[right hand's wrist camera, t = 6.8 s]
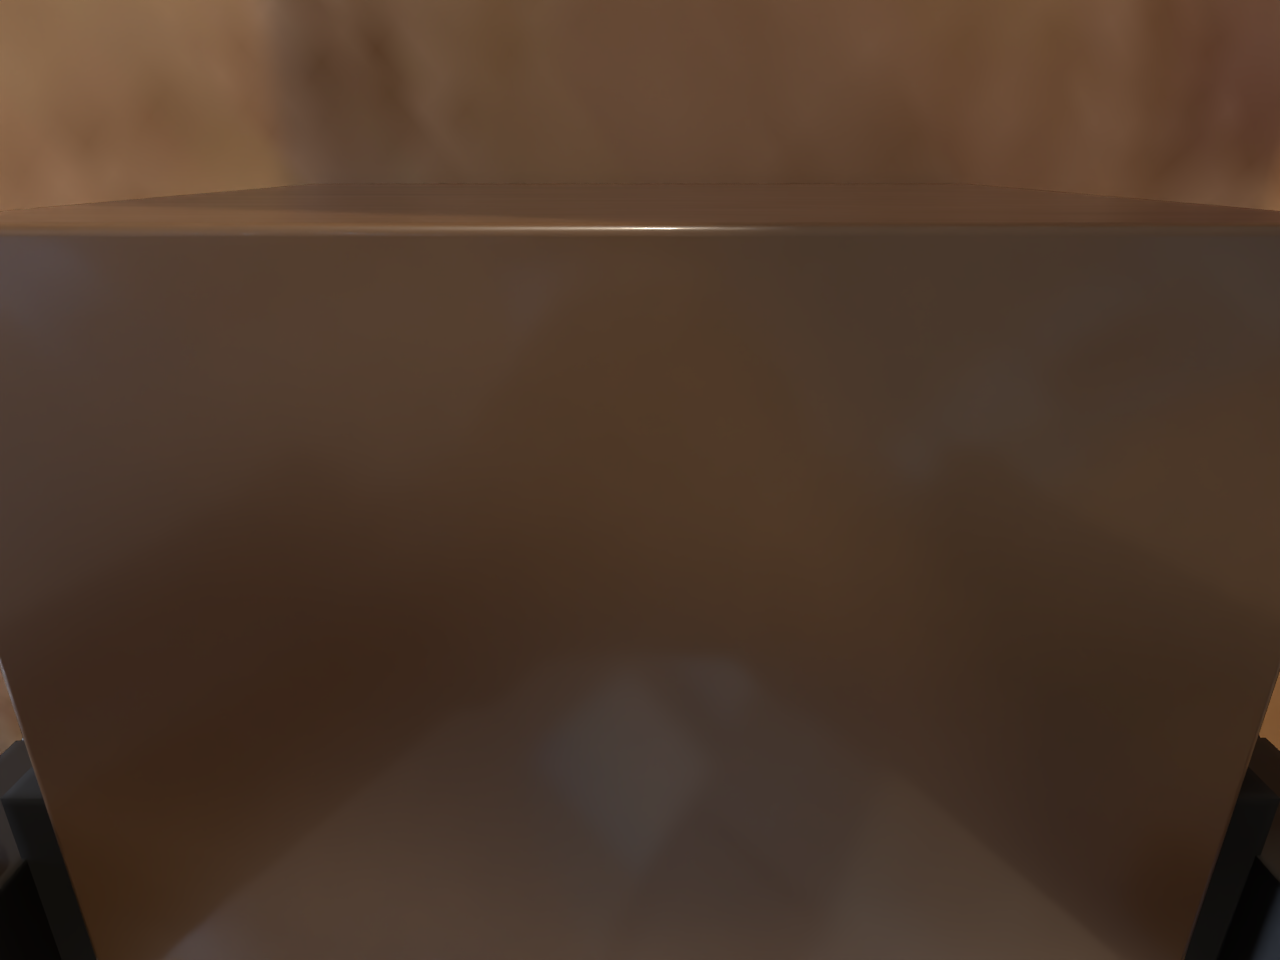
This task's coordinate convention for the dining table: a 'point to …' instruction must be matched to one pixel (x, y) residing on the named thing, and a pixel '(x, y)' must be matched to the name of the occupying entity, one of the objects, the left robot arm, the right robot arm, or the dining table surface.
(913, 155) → the dining table surface
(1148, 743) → the thick board
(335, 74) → the dining table surface
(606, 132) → the dining table surface
